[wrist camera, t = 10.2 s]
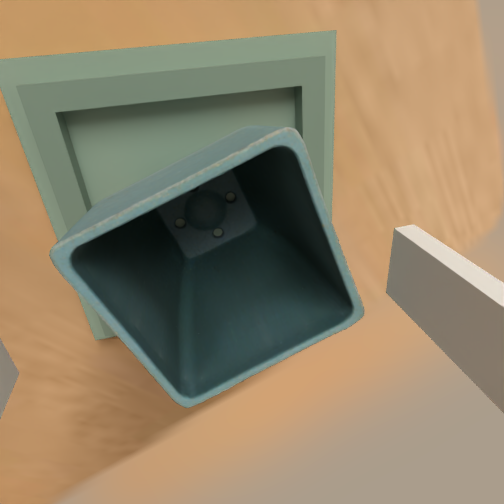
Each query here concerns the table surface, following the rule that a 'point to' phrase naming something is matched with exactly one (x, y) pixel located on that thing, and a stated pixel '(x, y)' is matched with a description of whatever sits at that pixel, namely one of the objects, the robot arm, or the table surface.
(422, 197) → the table surface
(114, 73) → the baseplate
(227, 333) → the flower pot
